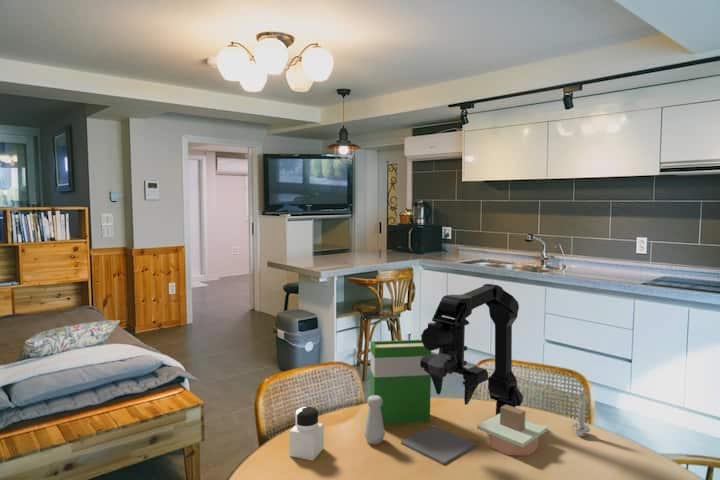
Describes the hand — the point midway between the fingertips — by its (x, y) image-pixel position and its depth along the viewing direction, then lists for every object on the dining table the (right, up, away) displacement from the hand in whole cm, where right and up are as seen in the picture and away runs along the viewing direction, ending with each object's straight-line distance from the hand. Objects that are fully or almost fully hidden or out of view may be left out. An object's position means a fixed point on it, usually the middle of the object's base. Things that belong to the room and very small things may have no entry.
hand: (452, 399), depth 132 cm
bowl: (+18, -14, +6) cm, 24 cm away
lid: (+18, -10, +5) cm, 22 cm away
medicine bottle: (-40, -15, 0) cm, 42 cm away
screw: (+40, -14, +11) cm, 44 cm away
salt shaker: (-21, -14, +6) cm, 26 cm away
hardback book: (-13, -13, +21) cm, 28 cm away
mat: (-3, -14, +5) cm, 15 cm away
